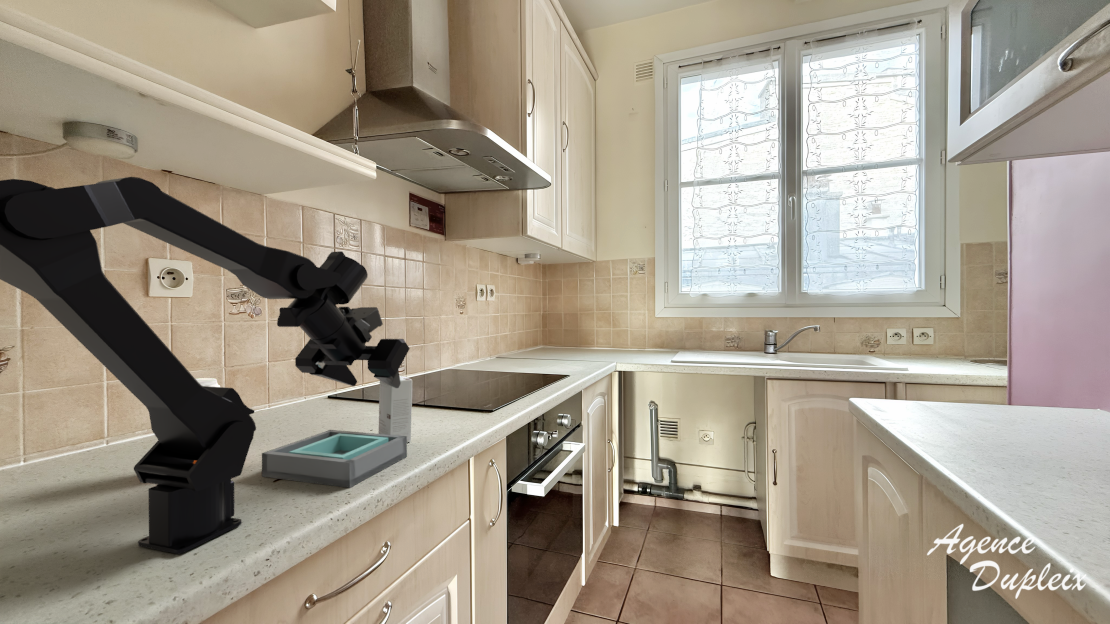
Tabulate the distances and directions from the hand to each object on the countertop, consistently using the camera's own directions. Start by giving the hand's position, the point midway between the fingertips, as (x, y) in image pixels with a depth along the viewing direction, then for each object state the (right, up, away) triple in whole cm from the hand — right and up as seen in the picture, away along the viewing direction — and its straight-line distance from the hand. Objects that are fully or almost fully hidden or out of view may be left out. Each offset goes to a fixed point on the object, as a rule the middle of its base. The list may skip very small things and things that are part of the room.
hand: (376, 385), depth 75 cm
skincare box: (+1, -12, +5) cm, 13 cm away
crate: (-3, -12, -8) cm, 14 cm away
